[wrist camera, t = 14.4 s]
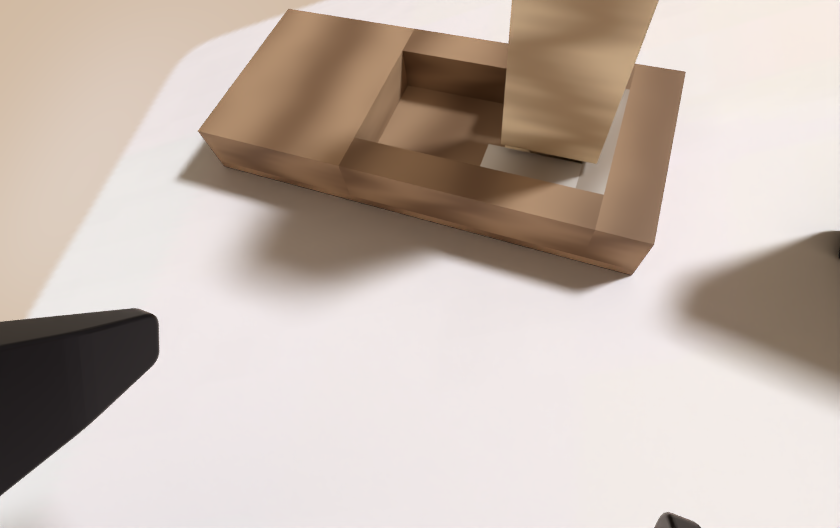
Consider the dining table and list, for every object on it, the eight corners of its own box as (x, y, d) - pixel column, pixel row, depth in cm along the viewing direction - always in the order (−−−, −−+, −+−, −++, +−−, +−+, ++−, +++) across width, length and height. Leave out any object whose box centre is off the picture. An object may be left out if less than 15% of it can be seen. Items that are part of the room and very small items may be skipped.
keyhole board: (224, 166, 29) (198, 131, 26) (303, 49, 33) (288, 8, 30) (631, 275, 23) (654, 244, 20) (663, 115, 27) (685, 71, 24)
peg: (493, 185, 25) (514, -156, 12) (516, 118, 27) (558, -240, 14) (585, 206, 24) (724, -147, 11) (603, 135, 26) (740, -240, 13)
